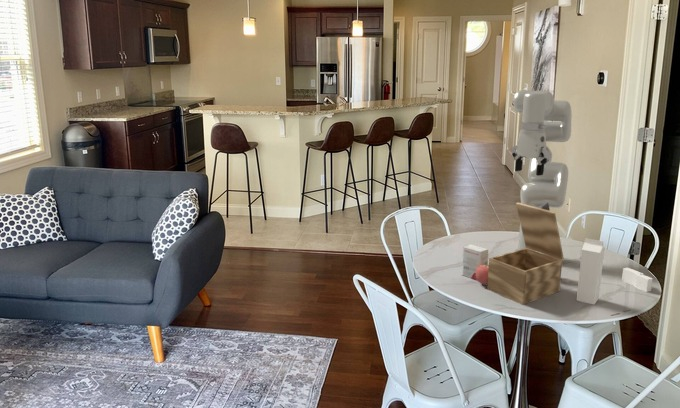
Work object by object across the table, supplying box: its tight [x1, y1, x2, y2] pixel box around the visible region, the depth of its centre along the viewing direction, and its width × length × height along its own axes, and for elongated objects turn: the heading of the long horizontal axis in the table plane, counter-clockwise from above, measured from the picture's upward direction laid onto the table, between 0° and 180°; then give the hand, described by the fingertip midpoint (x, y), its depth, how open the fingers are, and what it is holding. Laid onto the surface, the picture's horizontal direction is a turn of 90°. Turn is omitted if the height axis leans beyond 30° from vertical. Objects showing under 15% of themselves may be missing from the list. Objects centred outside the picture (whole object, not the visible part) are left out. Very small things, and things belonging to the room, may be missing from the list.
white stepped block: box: [621, 267, 653, 293], centre depth 210 cm, size 15×11×6 cm
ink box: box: [462, 243, 489, 281], centre depth 219 cm, size 9×5×12 cm, turn 41°
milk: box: [576, 238, 605, 305], centre depth 196 cm, size 6×6×22 cm
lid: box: [515, 202, 564, 261], centre depth 207 cm, size 20×16×7 cm
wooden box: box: [486, 248, 563, 305], centre depth 206 cm, size 20×16×12 cm
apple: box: [476, 264, 489, 285], centre depth 212 cm, size 7×7×8 cm
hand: (528, 172), depth 212 cm, fingers open, 9 cm apart
